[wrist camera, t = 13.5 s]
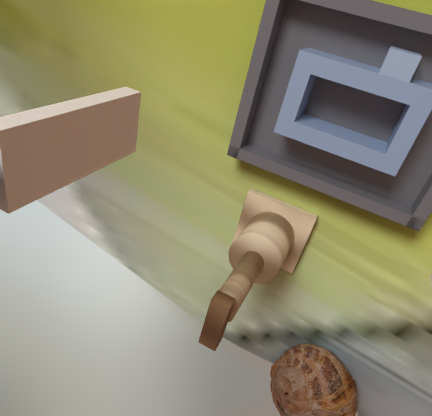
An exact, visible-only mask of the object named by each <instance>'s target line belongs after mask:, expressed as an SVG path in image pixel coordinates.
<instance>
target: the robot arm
mask: <svg viewBox="0 0 432 416" xmlns="http://www.w3.org/2000/svg"><path fill="white" fill-rule="evenodd" d="M140 97H141V92H139V91H136V90H134V89H131V88H128V87H123V88H118V89H114V90H110V91H106V92H102V93H98V94H93V95H89V96H85V97H81V98H77V99H72V100H68V101H64V102H60V103H56V104H51V105H47V106H43V107H39V108H35V109H31V110H26V111H22V112H18V113H14V114H10V115H5V116H1V117H0V209H1V210H3V211H5V212H7V213H11V212H13V211H15V210H17V209H19V208H21V207H23V206H25V205H27V204H29V203H31V202H33V201H35V200H37V199H39V198H41V197H43V196H45V195H47V194H49V193H52V192H54V191H56V190H58V189H60V188H62V187H64V186H66V185H68V184H70V183H72V182H74V181H76V180H78V179H80V178H82V177H84V176H86V175H88V174H90V173H92V172H94V171H96V170H99V169H101V168H103V167H105V166H107V165H109V164H111V163H113V162H115V161H117V160H119V159H121V158H123V157H125V156H127V155H129V154H131V153H133V152H135V149H136V139H137V128H138V118H139V108H140ZM431 283H432V274H431Z"/></svg>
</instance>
